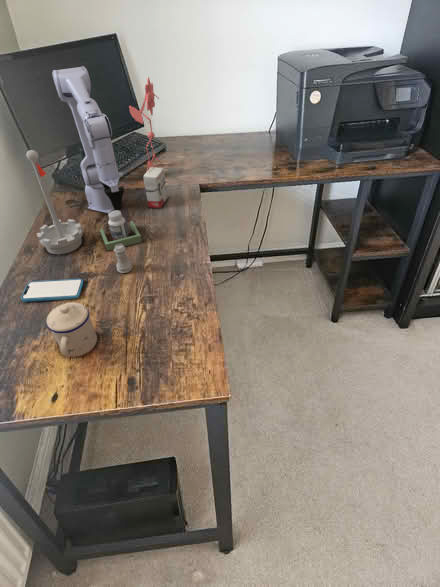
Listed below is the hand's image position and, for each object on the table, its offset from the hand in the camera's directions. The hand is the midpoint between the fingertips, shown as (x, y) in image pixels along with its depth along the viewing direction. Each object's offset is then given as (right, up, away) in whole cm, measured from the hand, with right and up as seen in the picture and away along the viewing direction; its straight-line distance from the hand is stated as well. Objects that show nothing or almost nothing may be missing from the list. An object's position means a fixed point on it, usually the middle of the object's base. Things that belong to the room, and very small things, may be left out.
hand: (115, 203), depth 119 cm
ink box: (+10, +5, +22) cm, 24 cm away
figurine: (+9, +23, +42) cm, 49 cm away
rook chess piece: (+5, -21, -8) cm, 23 cm away
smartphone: (-13, -28, -15) cm, 34 cm away
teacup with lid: (-1, -41, -30) cm, 51 cm away
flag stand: (-17, -12, +3) cm, 21 cm away
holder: (+1, -10, +4) cm, 11 cm away
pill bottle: (+1, -10, +4) cm, 11 cm away
